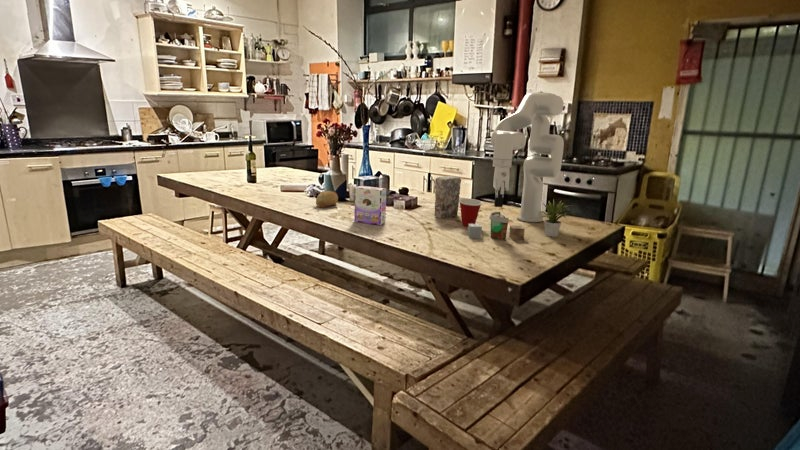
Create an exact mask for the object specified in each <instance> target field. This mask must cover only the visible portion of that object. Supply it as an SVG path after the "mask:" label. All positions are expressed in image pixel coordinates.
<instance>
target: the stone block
mask: <svg viewBox="0 0 800 450" xmlns="http://www.w3.org/2000/svg"><path fill="white" fill-rule="evenodd" d="M434 180H435V181H434V182H435V183H434V188H435V190H434V191H435V192H434V194H435V195H434V197H435V200H434V217H436V218H439V219H442V220H443V219H448V218H452V217H457V216H458V212H459V206H460V202H459V200H460V193H461V183H462V179H461V178H460V177H458V176H454V175H448V176H447V175H446V176H438V177H436V178H435V179H434Z"/></svg>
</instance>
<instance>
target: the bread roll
mask: <svg viewBox="0 0 800 450" xmlns="http://www.w3.org/2000/svg"><path fill="white" fill-rule="evenodd" d="M338 201H339V196H338V194H337V192H335V191H331V190H324V191H321V192H320V193H319V194H318V195H317V196H316V200H315V204H316V206H317V207H318V208H321V209H322V208H327V207H330V206H333V205H336V204H337V203H338Z"/></svg>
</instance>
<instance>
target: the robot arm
mask: <svg viewBox="0 0 800 450" xmlns="http://www.w3.org/2000/svg"><path fill="white" fill-rule="evenodd" d="M563 111H564V99H563V98H562V97H561V96H559V95H557V94H556V93H555V94H554V93H552V92H528V93H527V94H525V95H524V96H523V98H522V100H521V101H520V103H519V105H518V107H517V109H516V110H515V113H512V114H511V115H509V116H507V117H505V118H504V119H502V120H500V121H499V122H498V123H497V124H496V126H495V128H494V129H493V132H492V134H491V137H490V143H491V146H492V147H493V156H492V157H493V159H492V167H494V173H493V182H492V183H493V185H492V186H493V188H494V189H495V191H494V192H495V195H494V203H493V204H494V205H493V206H494V207H495V208H503V206H504V195H505V192H509V191H510V178H511V177H510V168H512V164H513V163H512V161H513V151H519V150H522V149H523V148H524V147H525V145H526V142H527V138H526V135H525V134H524V133H523V132H521V131H517V130H522V129H525V128H528V127H529V126H530V136H529V142H528V143H529V144H528V149H529V151H530V152H531V153H533V154H537V155H538V154H539V155H549V156H550V157H546V156H535V155H534V156H528V157H526V158H525V159H524V161H523V165H522V166H523V167H522V168H523V186H522V196H521V203H520V214H518V215H516V219H517V220H518V221H520V222H521V221H522V222H524V223H525V222H526V223H541V222H543V219H544V218H547V217H548V216H547V215H548V214H547V213H548V212H545V213H546V214H547V215H546V214H544V213H542V212H540V211H542V209H541V208H542V203H543V202H542V200H543V192H544V183H543V181H542V180H541V178H548V179H557V178H558V177H559V175H560V173H561V169H562V164H563V155H564V154H563V153H564V146H565V142H564V137H562V136H561V135H558V134H550V128H551V122H550V120H549V118H548V116H554V117H555V116H559V115H560V114H562V112H563Z"/></svg>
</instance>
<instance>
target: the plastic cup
mask: <svg viewBox="0 0 800 450" xmlns="http://www.w3.org/2000/svg"><path fill="white" fill-rule="evenodd" d="M482 205H483V202H482V201H481V200H479V199H475V198H469V197H468V198H459V206H460V218H461V224H462V226H463V227H464V228H468V224H477V219H478V215H479V211H480V208H481V206H482Z"/></svg>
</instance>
